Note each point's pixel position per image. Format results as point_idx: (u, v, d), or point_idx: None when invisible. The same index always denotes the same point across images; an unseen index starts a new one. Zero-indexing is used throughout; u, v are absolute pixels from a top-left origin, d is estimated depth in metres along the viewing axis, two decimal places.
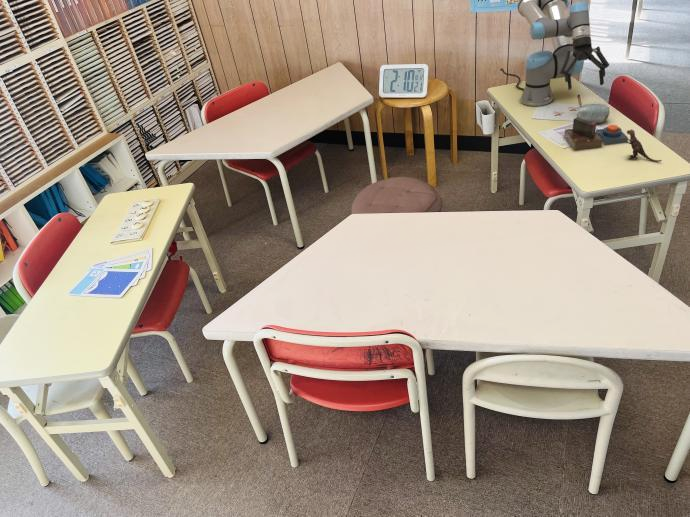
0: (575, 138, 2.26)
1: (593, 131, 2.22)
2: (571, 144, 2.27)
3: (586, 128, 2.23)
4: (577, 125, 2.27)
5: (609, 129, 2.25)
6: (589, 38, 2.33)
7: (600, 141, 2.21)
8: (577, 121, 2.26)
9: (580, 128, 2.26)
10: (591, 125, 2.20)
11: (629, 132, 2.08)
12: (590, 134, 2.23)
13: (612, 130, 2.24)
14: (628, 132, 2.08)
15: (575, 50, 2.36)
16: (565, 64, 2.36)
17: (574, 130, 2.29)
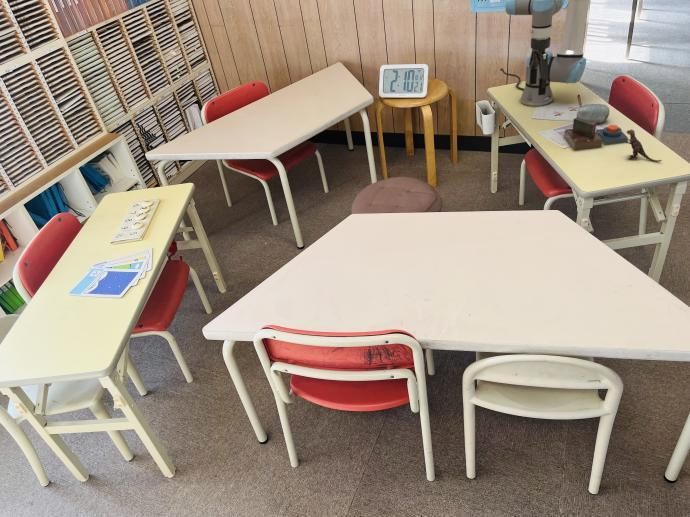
0: (575, 138, 2.26)
1: (593, 131, 2.22)
2: (571, 144, 2.27)
3: (586, 128, 2.23)
4: (577, 125, 2.27)
5: (609, 129, 2.25)
6: (535, 43, 2.13)
7: (600, 141, 2.21)
8: (577, 121, 2.26)
9: (580, 128, 2.26)
10: (591, 125, 2.20)
11: (629, 132, 2.08)
12: (590, 134, 2.23)
13: (612, 130, 2.24)
14: (628, 132, 2.08)
15: None
16: (530, 58, 2.27)
17: (574, 130, 2.29)
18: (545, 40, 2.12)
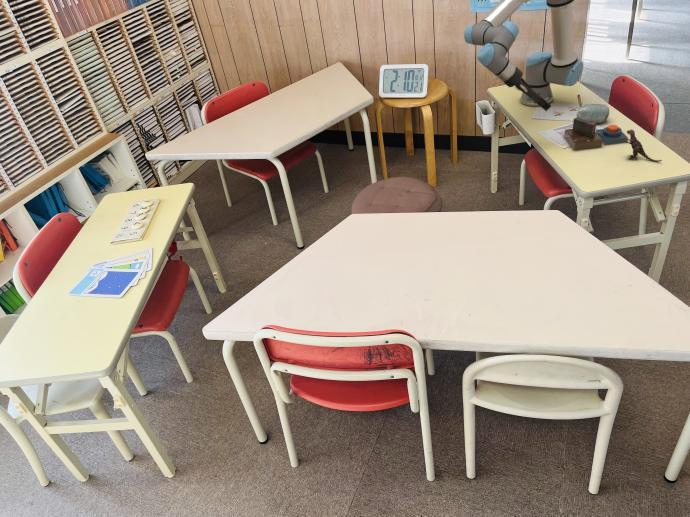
0: (575, 138, 2.26)
1: (593, 131, 2.22)
2: (571, 144, 2.27)
3: (586, 128, 2.23)
4: (577, 125, 2.27)
5: (609, 129, 2.25)
6: (507, 83, 2.15)
7: (600, 141, 2.21)
8: (577, 121, 2.26)
9: (580, 128, 2.26)
10: (591, 125, 2.20)
11: (629, 132, 2.08)
12: (590, 134, 2.23)
13: (612, 130, 2.24)
14: (628, 132, 2.08)
15: None
16: None
17: (574, 130, 2.29)
18: (513, 75, 2.12)
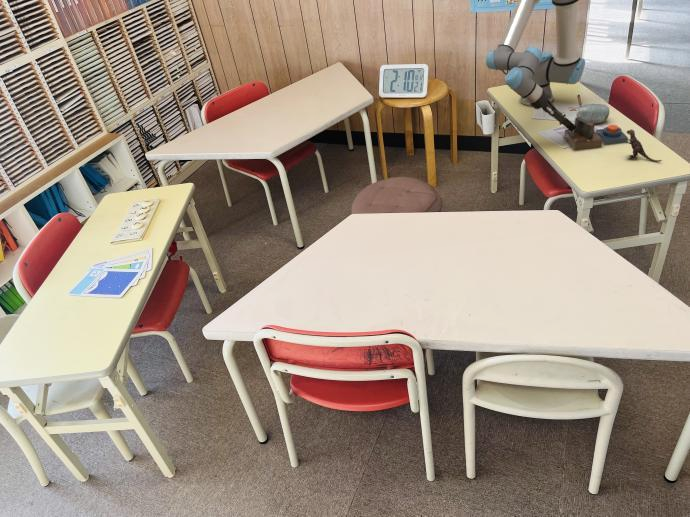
0: (575, 138, 2.26)
1: (591, 132, 2.21)
2: (571, 144, 2.27)
3: (585, 128, 2.23)
4: (578, 124, 2.27)
5: (609, 129, 2.25)
6: (534, 105, 2.20)
7: (600, 141, 2.21)
8: (578, 120, 2.26)
9: (580, 128, 2.26)
10: (589, 125, 2.20)
11: (629, 132, 2.08)
12: (588, 134, 2.22)
13: (612, 130, 2.24)
14: (628, 132, 2.08)
15: None
16: None
17: (575, 129, 2.30)
18: (540, 98, 2.18)
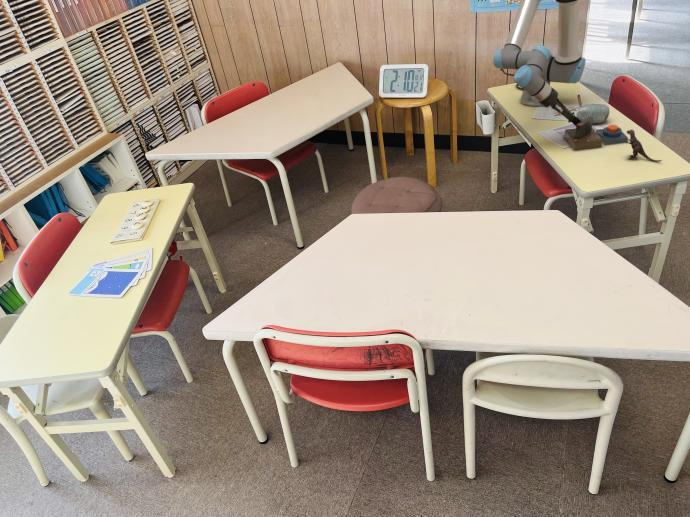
0: None
1: (577, 132, 2.23)
2: (571, 144, 2.27)
3: None
4: None
5: (609, 129, 2.25)
6: (543, 103, 2.21)
7: (600, 141, 2.21)
8: None
9: None
10: None
11: (629, 132, 2.08)
12: None
13: (612, 130, 2.24)
14: (628, 132, 2.08)
15: None
16: None
17: None
18: (549, 96, 2.18)
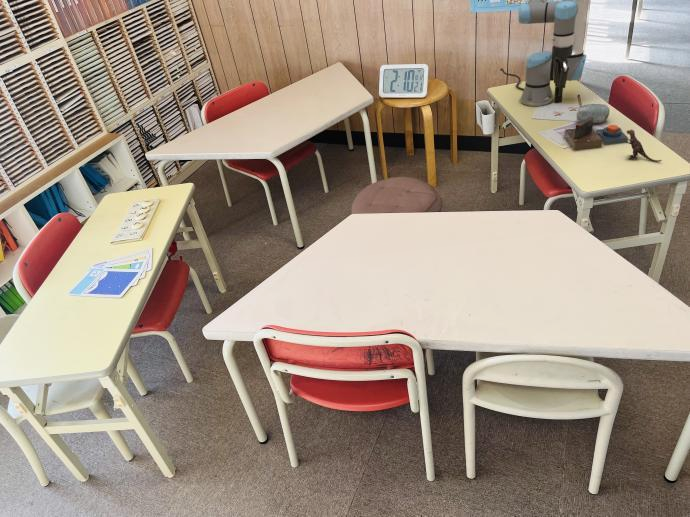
0: None
1: (576, 132, 2.23)
2: (571, 144, 2.27)
3: None
4: None
5: (609, 129, 2.25)
6: (556, 51, 2.08)
7: (600, 141, 2.21)
8: None
9: None
10: None
11: (629, 132, 2.08)
12: None
13: (612, 130, 2.24)
14: (628, 132, 2.08)
15: None
16: (554, 73, 2.20)
17: None
18: (567, 48, 2.06)
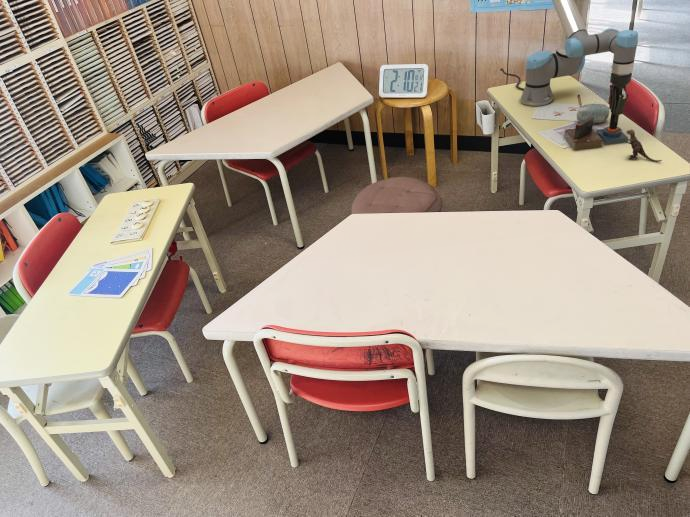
0: None
1: (576, 132, 2.23)
2: (571, 144, 2.27)
3: None
4: None
5: (609, 131, 2.25)
6: (616, 78, 2.10)
7: (600, 141, 2.21)
8: None
9: None
10: None
11: (629, 132, 2.08)
12: None
13: None
14: (628, 132, 2.08)
15: None
16: (610, 100, 2.22)
17: None
18: (627, 76, 2.09)
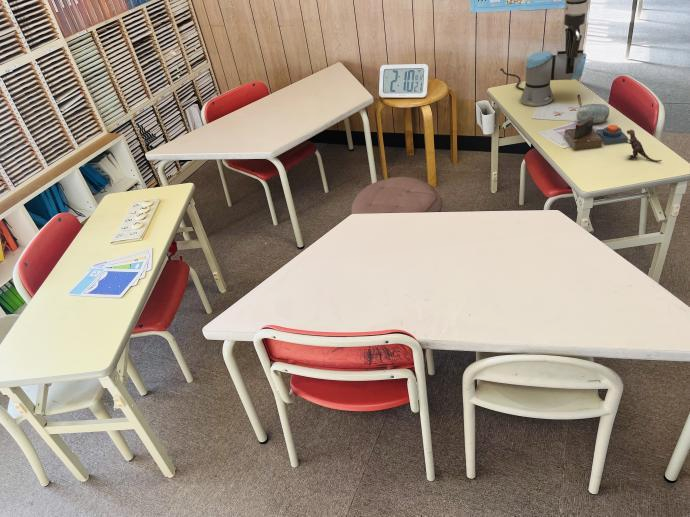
0: None
1: (576, 132, 2.23)
2: (571, 144, 2.27)
3: None
4: None
5: (609, 129, 2.25)
6: (569, 19, 2.09)
7: (600, 141, 2.21)
8: None
9: None
10: None
11: (629, 132, 2.08)
12: None
13: (612, 130, 2.24)
14: (628, 132, 2.08)
15: None
16: (566, 44, 2.21)
17: None
18: (580, 16, 2.08)
